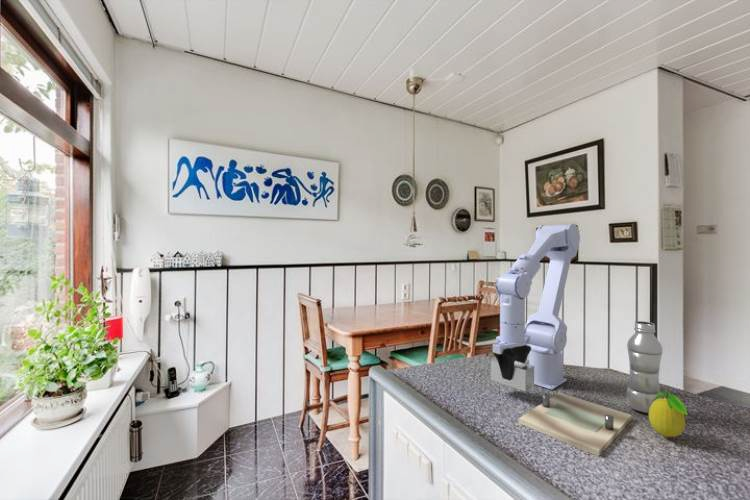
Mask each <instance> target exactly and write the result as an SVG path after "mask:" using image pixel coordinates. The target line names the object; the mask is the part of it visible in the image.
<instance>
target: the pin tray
mask: <svg viewBox="0 0 750 500" xmlns="http://www.w3.org/2000/svg"><path fill="white" fill-rule="evenodd" d="M632 415H633V414H629V413H627V412H623V411H620V410H616V409H613V408H610V407H607V406H604V405H601V404H598V403H594V402H591V401H588V400H584V399H582V398H579V397H576V396H572V395H569V394H566V393H563V392H560V391H558V392H557V393H556V394H553V395H552V396H550V395H549V394H547V393H543V394H542V402H541V403H540V404H538V405H537V406H535V407H534V408H532V409H530V410H529V411H527V412H526V413H525V414H523V415H521V416H520V417H519V418H518V424H519V425H523V426H524V427H527V428H528V429H529V428H530V429H532V430H534V431H536V432H539V433H542V434H544V435H545V436H549V437H551V438H554V439H556V440H558V441H560V442H563V443H565V444H568V445H570V446H572V447H575V448H577V449H579V450H582V451H584V452H586V453H590V454H592V455H594V456H596V457H600V456H601V454H603V453H604V451H605V450H607V448H608V447H609V446H610V445H611V444H612V442H613V441H614V440H615V439H616V438H617V437H618V436H619V435H620V433H621V432H623V430H624V429H625V428H626V427H627V425H629V423H630V422H631V421H632V419H633V416H632Z"/></svg>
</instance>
